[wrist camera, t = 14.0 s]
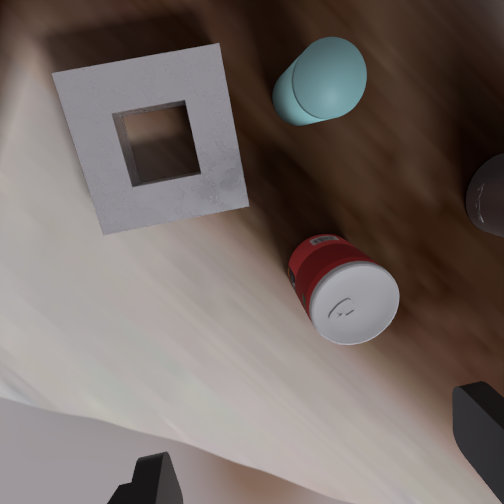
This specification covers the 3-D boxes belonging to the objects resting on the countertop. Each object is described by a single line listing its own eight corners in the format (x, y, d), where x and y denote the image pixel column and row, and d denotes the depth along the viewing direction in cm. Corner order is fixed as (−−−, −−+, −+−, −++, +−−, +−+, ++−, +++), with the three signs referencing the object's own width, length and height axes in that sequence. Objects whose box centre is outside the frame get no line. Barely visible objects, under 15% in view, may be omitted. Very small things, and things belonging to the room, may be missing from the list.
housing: (218, 54, 34) (219, 43, 30) (245, 199, 38) (249, 206, 34) (70, 81, 33) (51, 73, 29) (114, 225, 37) (103, 235, 34)
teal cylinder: (322, 62, 35) (363, 30, 25) (328, 120, 36) (369, 110, 27) (268, 72, 35) (288, 44, 25) (277, 130, 36) (299, 124, 27)
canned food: (272, 271, 41) (292, 315, 30) (319, 217, 39) (357, 244, 29) (320, 308, 43) (354, 361, 32) (366, 258, 41) (418, 296, 31)
